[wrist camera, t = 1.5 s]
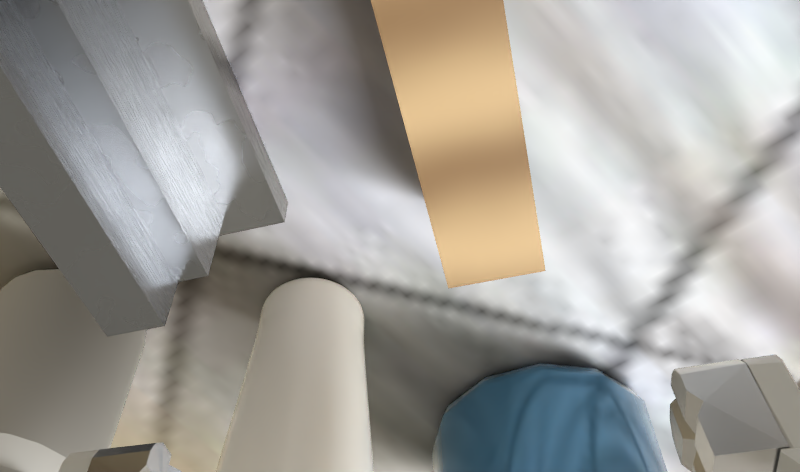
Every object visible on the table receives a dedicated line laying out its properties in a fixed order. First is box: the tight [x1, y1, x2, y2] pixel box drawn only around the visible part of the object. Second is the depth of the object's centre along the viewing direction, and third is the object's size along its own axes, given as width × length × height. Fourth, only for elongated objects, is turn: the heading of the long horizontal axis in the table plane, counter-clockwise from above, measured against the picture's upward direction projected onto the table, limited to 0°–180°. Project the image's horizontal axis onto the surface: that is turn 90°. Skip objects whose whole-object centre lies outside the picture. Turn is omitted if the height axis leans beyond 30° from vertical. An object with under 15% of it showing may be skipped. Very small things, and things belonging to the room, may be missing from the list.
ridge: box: [0, 0, 288, 337], centre depth 27 cm, size 10×20×8 cm, turn 14°
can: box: [0, 269, 146, 472], centre depth 35 cm, size 8×8×12 cm
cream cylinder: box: [216, 278, 374, 472], centre depth 34 cm, size 7×7×15 cm
